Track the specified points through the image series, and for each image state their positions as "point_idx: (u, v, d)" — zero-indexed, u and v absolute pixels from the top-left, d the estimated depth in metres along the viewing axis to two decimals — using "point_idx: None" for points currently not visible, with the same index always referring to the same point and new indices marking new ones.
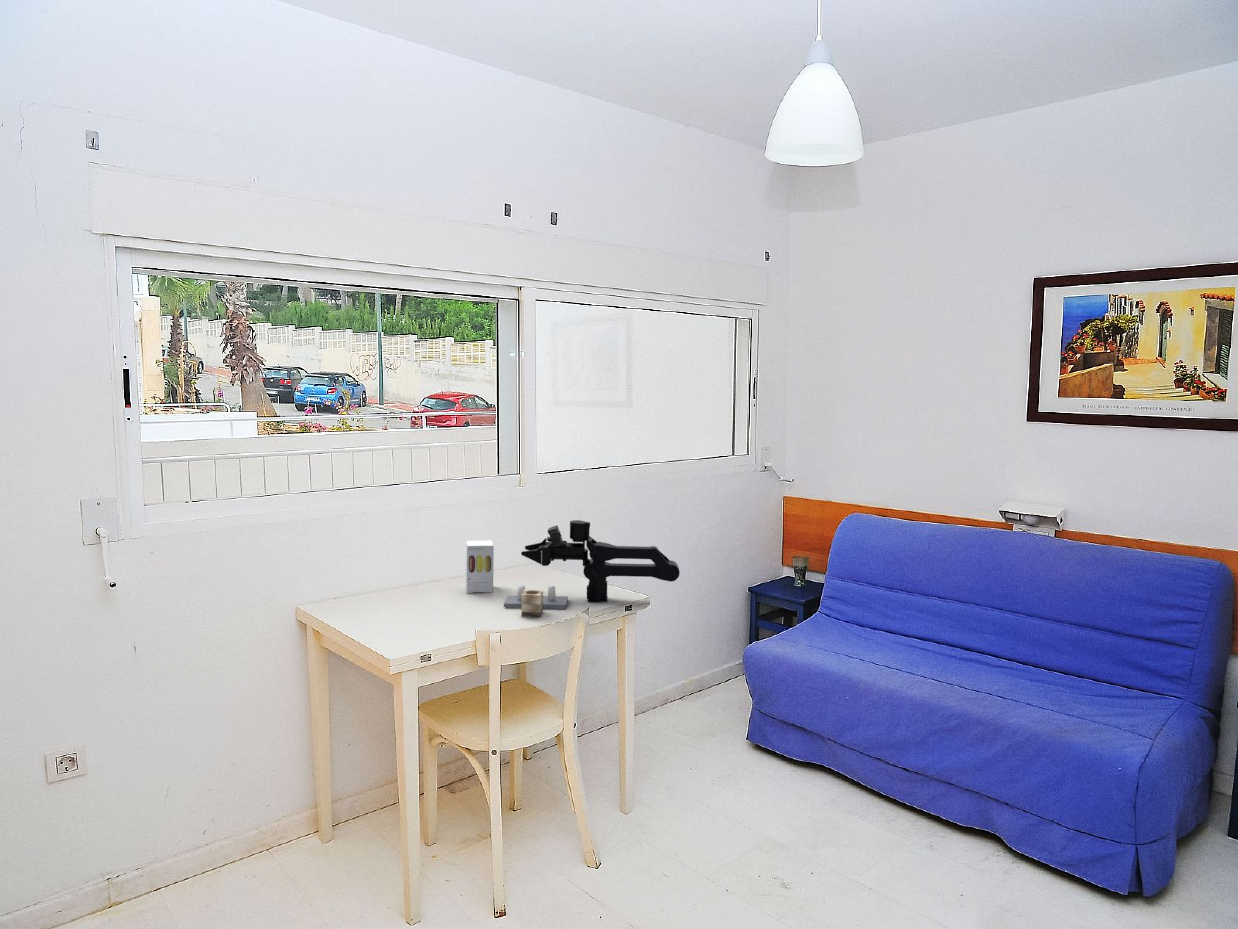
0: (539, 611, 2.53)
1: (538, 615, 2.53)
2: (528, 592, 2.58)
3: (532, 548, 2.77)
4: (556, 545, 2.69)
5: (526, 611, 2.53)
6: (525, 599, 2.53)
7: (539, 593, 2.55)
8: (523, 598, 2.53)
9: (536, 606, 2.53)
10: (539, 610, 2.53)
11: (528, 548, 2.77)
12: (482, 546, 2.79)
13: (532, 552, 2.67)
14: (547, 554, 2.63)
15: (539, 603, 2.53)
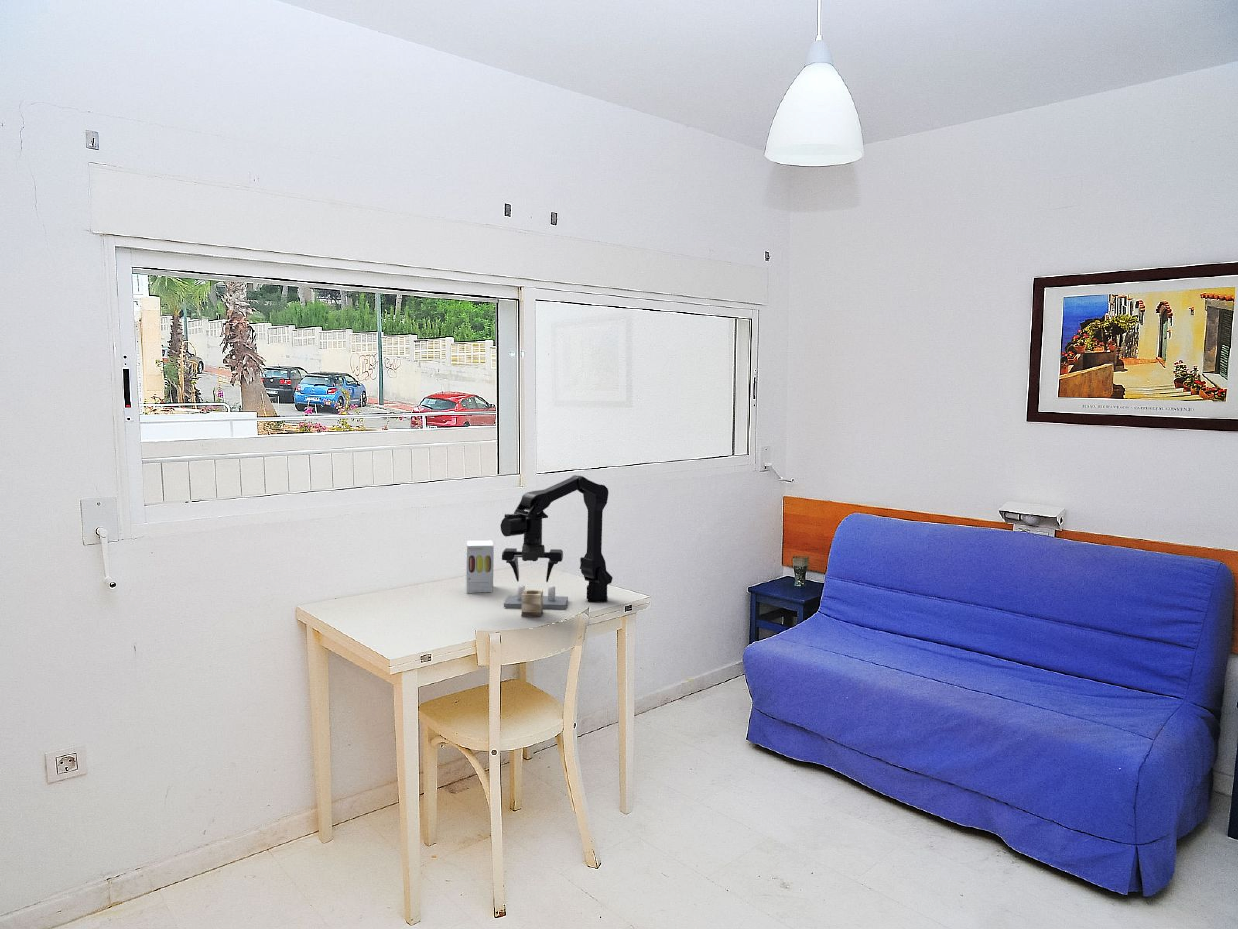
0: (539, 611, 2.53)
1: (538, 615, 2.53)
2: (528, 592, 2.58)
3: (518, 573, 2.55)
4: None
5: (526, 611, 2.53)
6: (525, 599, 2.53)
7: (539, 593, 2.55)
8: (523, 598, 2.53)
9: (536, 606, 2.53)
10: (539, 610, 2.53)
11: (518, 577, 2.56)
12: (482, 546, 2.79)
13: (550, 570, 2.54)
14: (562, 554, 2.53)
15: (539, 603, 2.53)
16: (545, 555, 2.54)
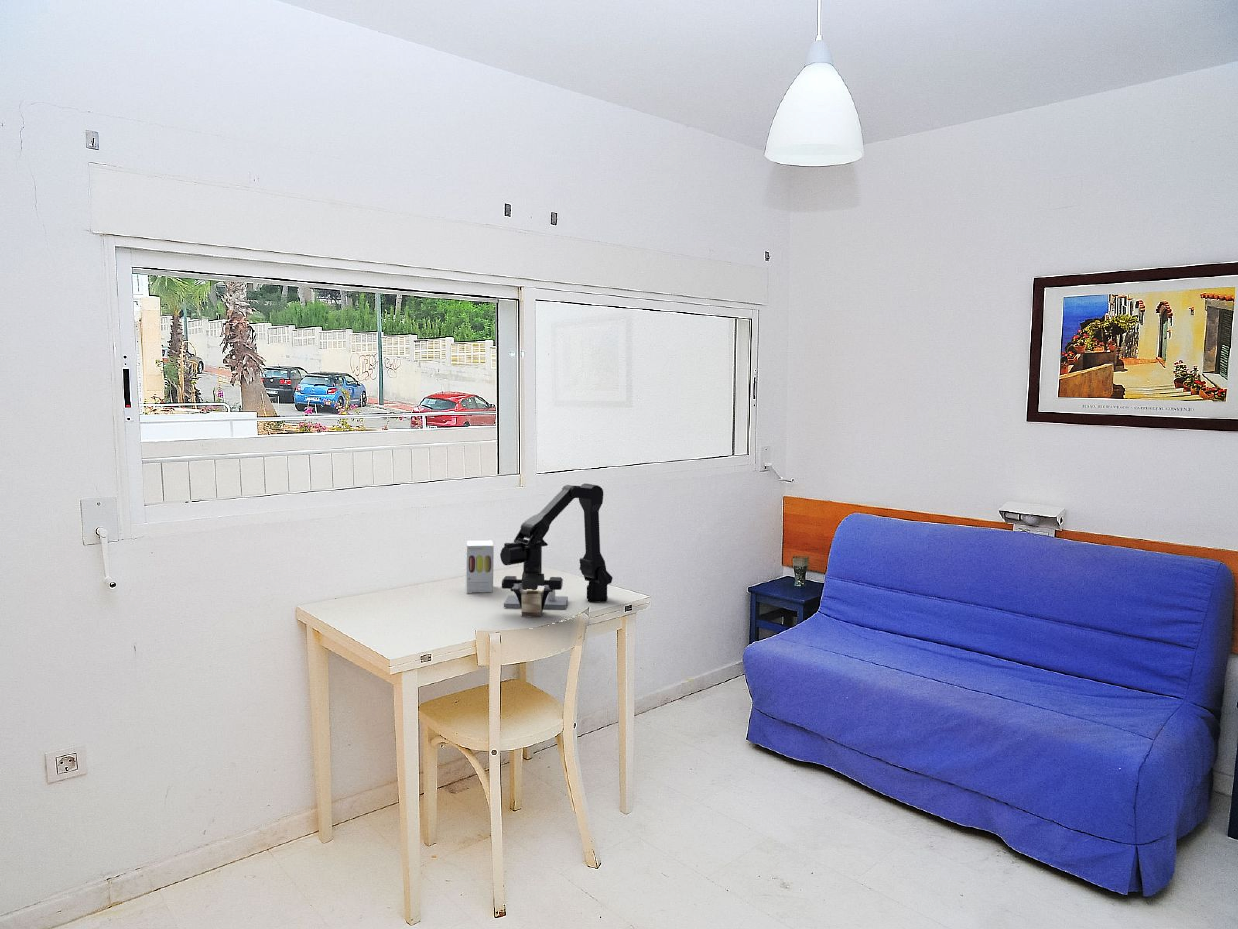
0: (539, 611, 2.53)
1: (538, 615, 2.53)
2: (528, 592, 2.58)
3: None
4: None
5: (526, 611, 2.53)
6: (525, 599, 2.53)
7: (539, 593, 2.55)
8: (523, 598, 2.53)
9: (536, 606, 2.53)
10: (539, 610, 2.53)
11: None
12: (482, 546, 2.79)
13: None
14: (561, 582, 2.54)
15: (539, 603, 2.53)
16: (545, 583, 2.55)
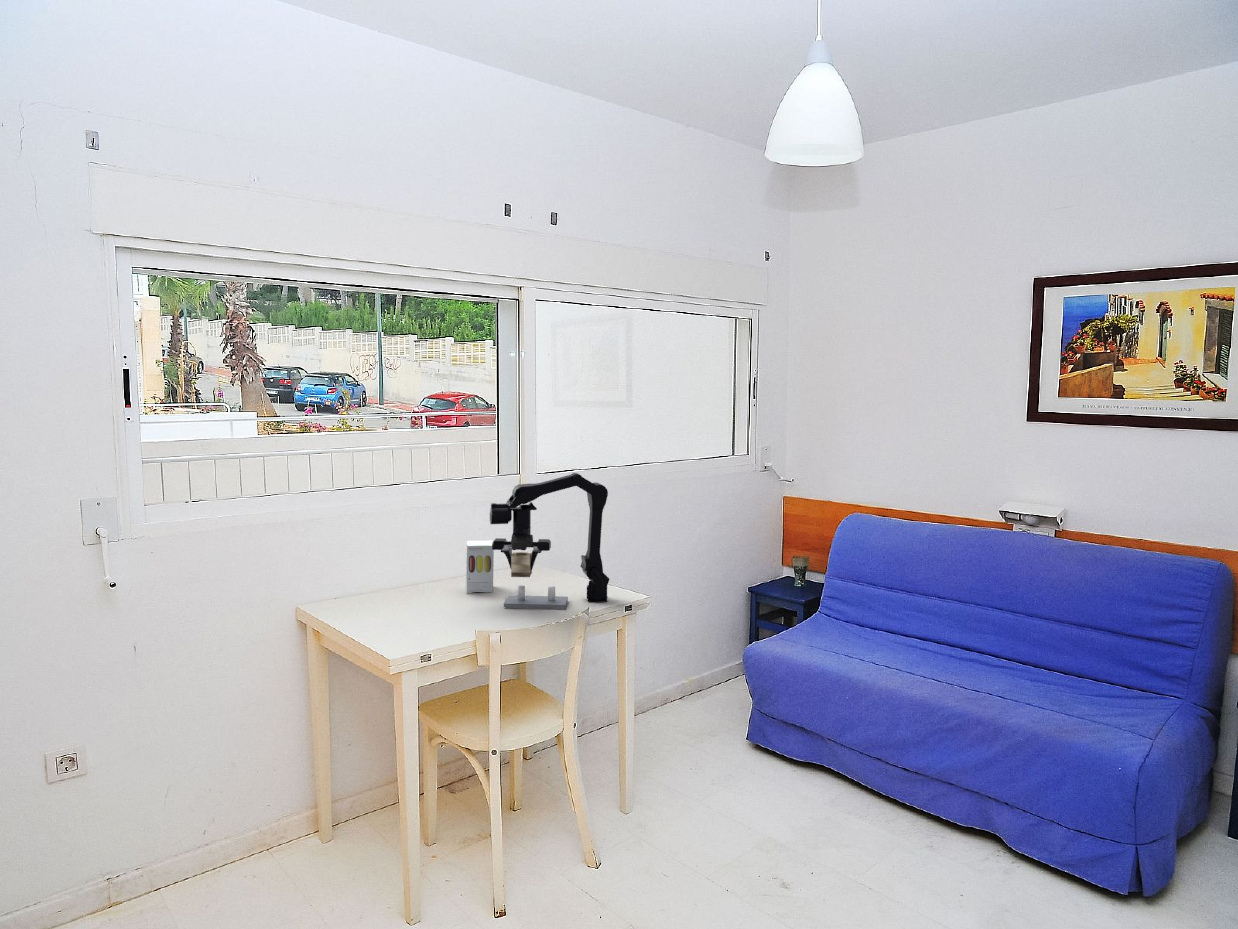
0: (528, 571, 2.63)
1: (527, 575, 2.63)
2: (517, 554, 2.67)
3: None
4: None
5: (515, 571, 2.63)
6: (514, 560, 2.63)
7: (528, 554, 2.64)
8: (513, 559, 2.63)
9: (525, 567, 2.63)
10: (528, 570, 2.63)
11: None
12: (482, 546, 2.79)
13: (534, 559, 2.65)
14: (549, 544, 2.64)
15: (528, 564, 2.63)
16: (533, 545, 2.65)
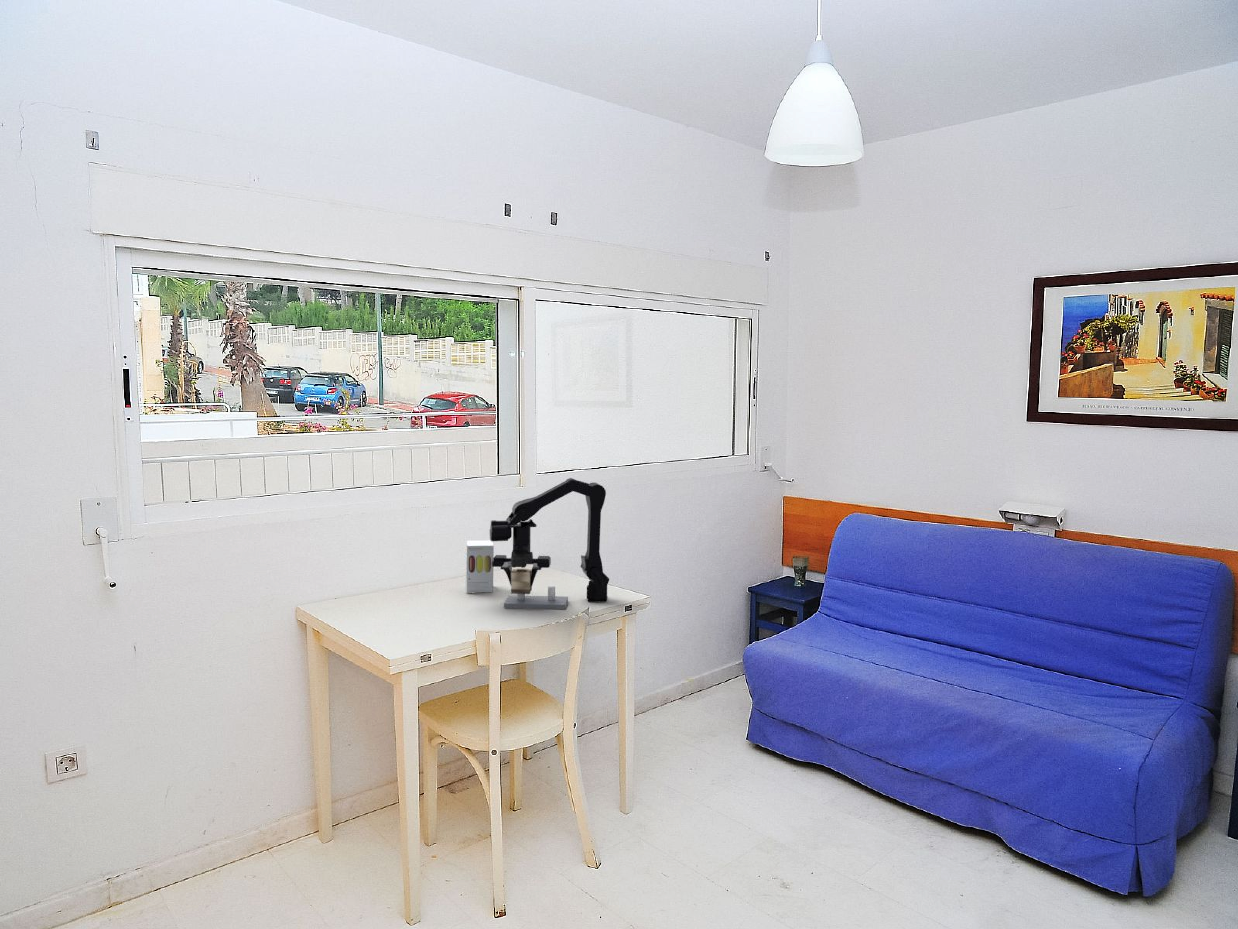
0: (528, 588, 2.64)
1: (527, 592, 2.64)
2: (517, 570, 2.68)
3: None
4: None
5: (515, 588, 2.64)
6: (514, 577, 2.63)
7: (528, 571, 2.65)
8: (512, 576, 2.63)
9: (525, 584, 2.64)
10: (528, 587, 2.64)
11: None
12: (482, 546, 2.79)
13: (534, 576, 2.66)
14: (549, 561, 2.65)
15: (528, 580, 2.63)
16: (533, 561, 2.65)
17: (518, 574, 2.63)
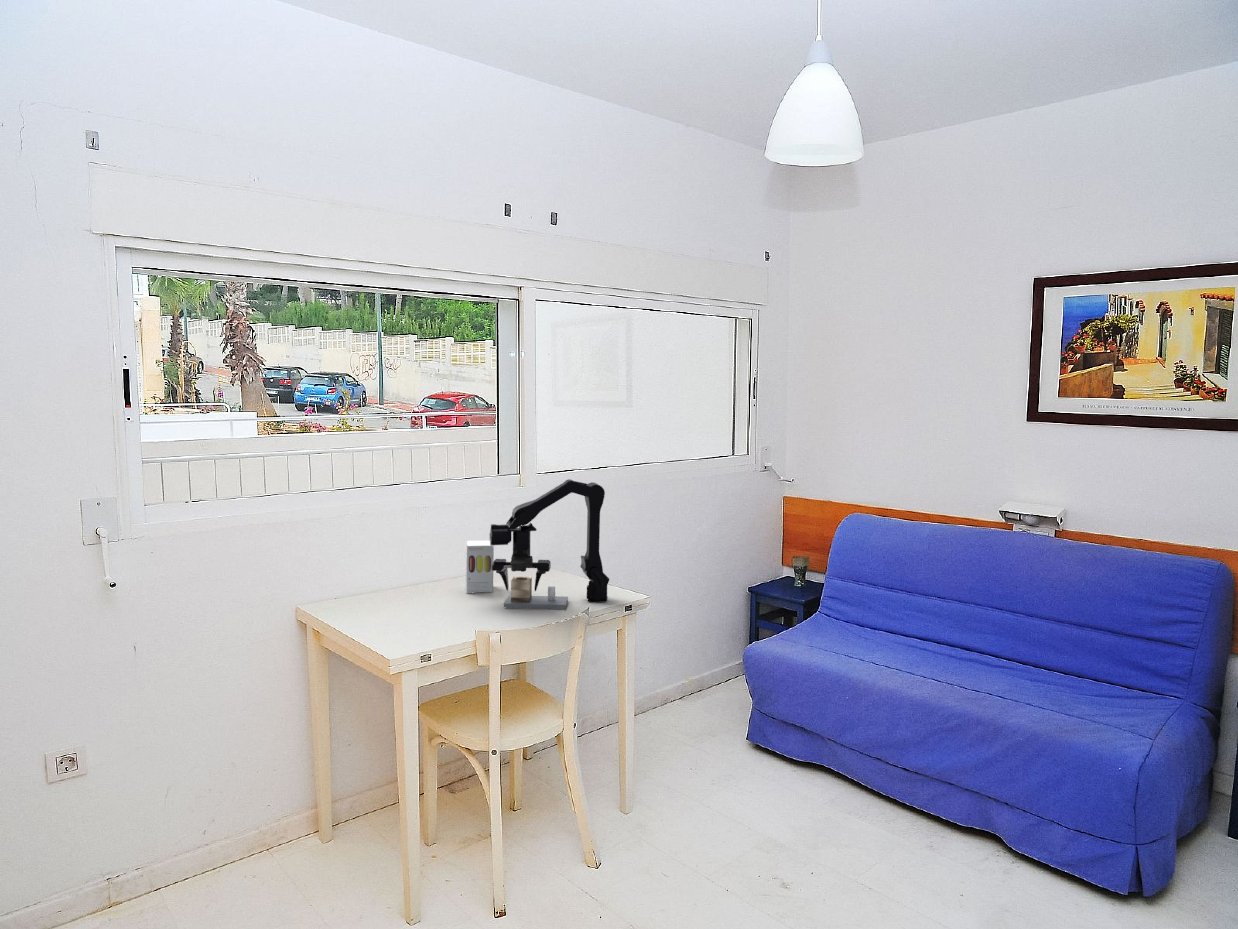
0: (528, 597, 2.64)
1: (527, 600, 2.64)
2: (517, 579, 2.68)
3: (507, 582, 2.67)
4: None
5: (515, 597, 2.64)
6: (514, 585, 2.64)
7: (528, 579, 2.65)
8: (512, 584, 2.64)
9: (525, 592, 2.64)
10: (528, 596, 2.64)
11: (508, 586, 2.67)
12: (482, 546, 2.79)
13: None
14: (549, 564, 2.65)
15: (528, 589, 2.64)
16: (533, 565, 2.65)
17: (518, 582, 2.64)
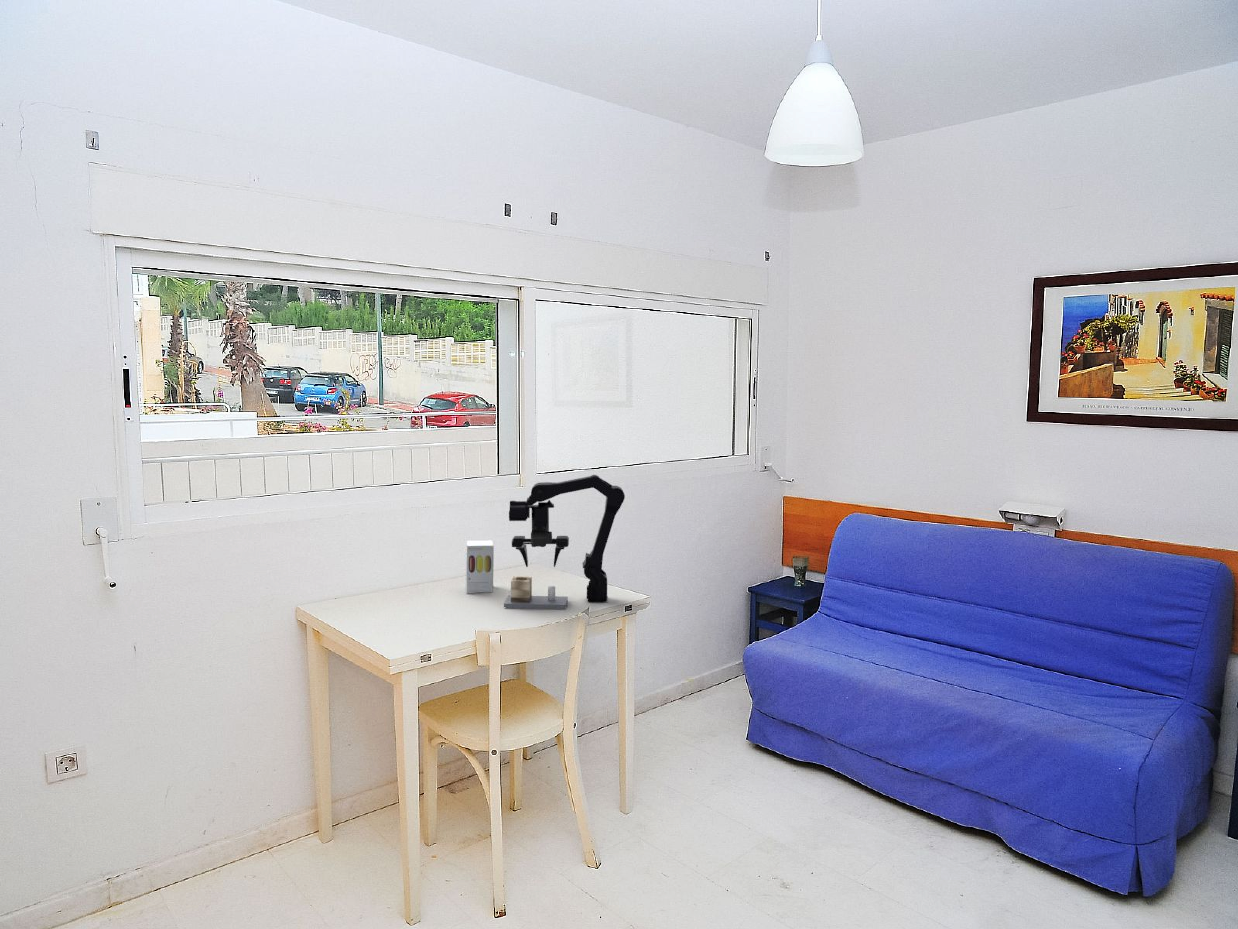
0: (528, 597, 2.64)
1: (527, 600, 2.64)
2: (517, 579, 2.68)
3: (527, 559, 2.71)
4: None
5: (515, 597, 2.64)
6: (514, 585, 2.64)
7: (528, 579, 2.65)
8: (512, 584, 2.64)
9: (525, 592, 2.64)
10: (528, 596, 2.64)
11: (527, 563, 2.72)
12: (482, 546, 2.79)
13: None
14: (568, 540, 2.70)
15: (528, 589, 2.64)
16: (552, 541, 2.70)
17: (518, 582, 2.64)
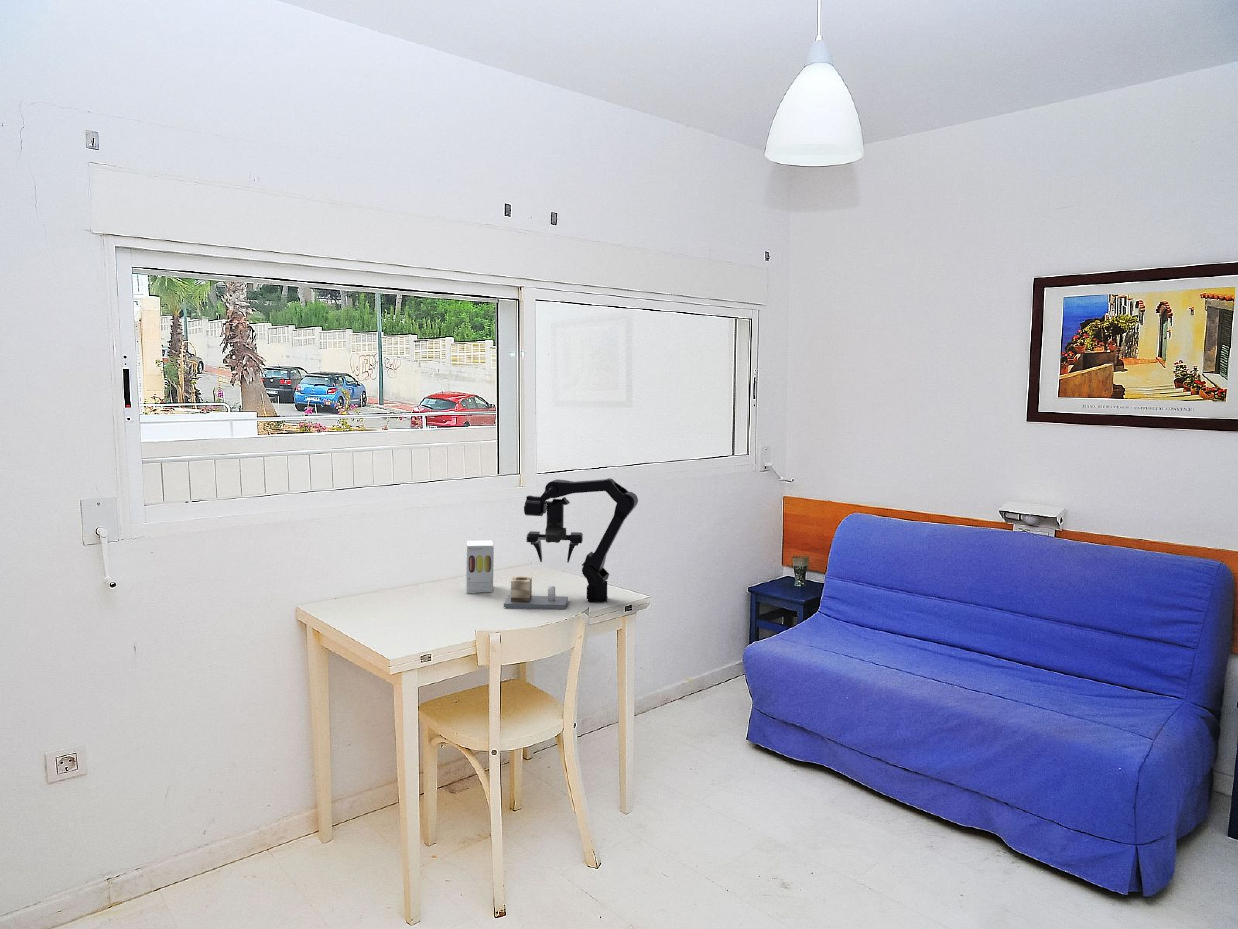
0: (528, 597, 2.64)
1: (527, 600, 2.64)
2: (517, 579, 2.68)
3: (541, 554, 2.76)
4: None
5: (515, 597, 2.64)
6: (514, 585, 2.64)
7: (528, 579, 2.65)
8: (512, 584, 2.64)
9: (525, 592, 2.64)
10: (528, 596, 2.64)
11: (541, 558, 2.76)
12: (482, 546, 2.79)
13: None
14: None
15: (528, 589, 2.64)
16: (566, 537, 2.74)
17: (518, 582, 2.64)
